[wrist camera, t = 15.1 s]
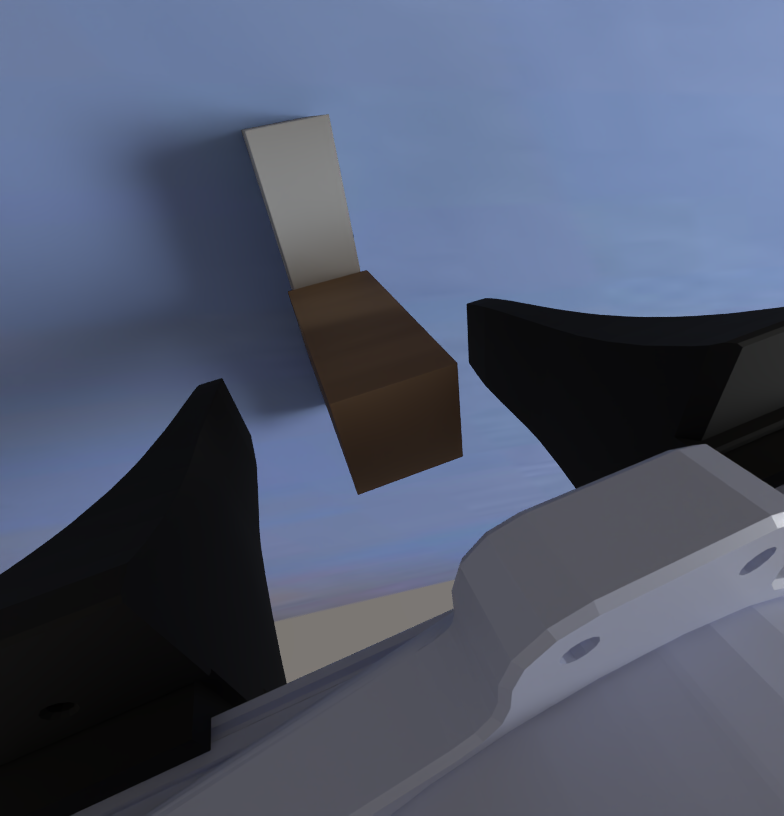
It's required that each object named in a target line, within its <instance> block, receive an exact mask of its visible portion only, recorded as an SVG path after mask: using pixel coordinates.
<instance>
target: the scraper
mask: <svg viewBox="0 0 784 816" xmlns="http://www.w3.org/2000/svg"><path fill="white" fill-rule="evenodd" d="M241 131H242V134H243V137H244V140H245V143H246V146H247V150H248V153H249V156H250V159H251V162H252V165H253V169H254V172H255V175H256V178H257V181H258V184H259V187H260V191H261V194H262V197H263V200H264V203H265V206H266V209H267V213H268V216H269V219H270V222H271V225H272V228H273V232H274V235H275V238H276V241H277V244H278V247H279V250H280V254H281V257H282V260H283V263H284V266H285V269H286V272H287V276H288V279H289V282H290V285H291V288H292V290H291V291H288V294H289V297H290V300H291V303H292V306H293V309H294V312H295V315H296V318H297V321H298V324H299V328H300V331H301V334H302V337H303V340H304V343H305V346H306V349H307V352H308V355H309V358H310V361H311V364H312V367H313V370H314V373H315V376H316V378H317V381H318V384H319V387H320V390H321V392H322V395H323V398H324V401H325V404H326V406H327V409H328V412H329V415H330V418H331V420H332V423H333V426H334V429H335V432H336V434H337V437H338V440H339V443H340V446H341V449H342V451H343V454H344V457H345V460H346V463H347V465H348V468H349V471H350V474H351V477H352V479H353V482H354V485H355V488H356V491H357V493H358V495H359V494H362V493H365V492H367V491H370V490H373V489H375V488H378V487H381V486H384V485H386V484H389V483H392V482H394V481H397V480H400V479H403V478H405V477H408V476H411V475H413V474H416V473H419V472H422V471H424V470H427V469H430V468H432V467H435V466H438V465H441V464H443V463H446V462H449V461H452V460H454V459H457V458H460V457H462V456H463V452H462V435H461V418H460V401H459V384H458V367H457V362H456V361H455V360H454V359H453V358H452V357H451V356H450V355H449V354H448V353H447V352H446V351H445V350H444V349H443V348H442V347H441V346H440V345H439V344H438V343H437V342H436V341H435V340H434V339H433V338H432V337H431V336H430V335H429V334H428V332H427V331H426V330H425V329H424V328H423V327H422V326H421V325H420V324H419V323H418V322H417V321H416V320H415V319H414V318H413V317H412V316H411V315H410V314H409V313H408V312H407V311H406V310H405V309H404V308H403V307H402V306H401V305H400V304H399V303H398V302H397V301H396V300H395V299H394V298H393V297H392V295H391V294H390V293H389V292H388V291H387V290H386V289H385V288H384V287H383V286H382V285H381V284H380V283H379V282H378V281H377V280H376V279H375V278H374V277H373V276H372V275H371V274H370V273H369V272H368V271H367V270H366V271H362V272H360V267H359V262H358V257H357V252H356V247H355V242H354V237H353V232H352V227H351V223H350V218H349V213H348V208H347V203H346V198H345V193H344V188H343V183H342V178H341V173H340V168H339V163H338V158H337V153H336V148H335V143H334V138H333V133H332V128H331V123H330V118H329V114H327V115H319V116H310V117H305V118H300V119H294V120H289V121H284V122H279V123H274V124H269V125H264V126H259V127H254V128H249V129H244V130H241Z"/></svg>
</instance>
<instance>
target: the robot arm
mask: <svg viewBox="0 0 784 816" xmlns="http://www.w3.org/2000/svg"><path fill="white" fill-rule="evenodd" d="M467 325H468V351H469V363H470V365H471V366H472V368H473V369H474V371H475V372H476V374H477V375H478V376H479V378H480V379H481V380H482V382H483V383H484V384H485V386H486V387H487V388H488V389H489V390H490V391H491V392H492V393H493V394H494V395H495V396H496V397H497V398H498V399H499V400H500V401H501V402H502V403H503V404H504V405H505V406H506V407H507V408H508V409H509V410H510V411H511V412H512V413H513V414H514V415H515V416H516V417H517V418H518V419H519V420H520V421H521V422H522V423H523V424H524V425H525V426H526V427H527V428H528V429H529V430H530V431H531V432H532V433H533V434H534V435H535V436H536V437H537V439H538V440H539V441H540V442H541V443H542V445H543V446H544V447H545V448H546V450H547V451H548V452H549V453H550V455H551V456H552V457H553V458H554V460H555V461H556V462H557V464H558V465H559V466H560V468H561V469H562V470H563V472H564V473H565V474H566V476H567V477H568V478H569V480H570V481H571V483H572V484H573V485H574V487H575V488H576V489H574V490H572V491H569V492H567V493H565V494H562V495H560V496H557V497H555V498H553V499H550V500H548V501H545V502H543V503H541V504H538V505H536V506H533V507H531V508H529V509H526V510H524V511H521V512H519V513H517V514H516V515H514V516H512V517H511V518H509V519H507V520H506V521H504V522H502V523H501V524H499V525H497V526H496V527H494V528H492V529H491V530H489V531H487V532H486V533H485V534H484V535H483V536H482V537H481V538H480V539H479V540H478V541H477V543H476V544H475V545H474V546H473V547H472V548H471V549H470V550H469V551H468V552H467V553H466V555H465V556H464V557H463V558H462V560H461V563H460V565H459V568H458V572H457V575H456V578H455V582H454V585H453V589H452V597H453V606H454V609H452V610H450V611H447V612H445V613H443V614H441V615H439V616H437V617H434V618H432V619H430V620H427V621H425V622H423V623H421V624H419V625H416V626H414V627H412V628H410V629H407V630H405V631H403V632H401V633H399V634H397V635H394V636H392V637H390V638H387V639H385V640H383V641H381V642H379V643H376V644H374V645H372V646H370V647H367V648H365V649H363V650H361V651H359V652H356V653H354V654H352V655H350V656H347V657H345V658H343V659H341V660H339V661H336V662H334V663H332V664H330V665H327V666H325V667H323V668H321V669H319V670H316V671H314V672H312V673H310V674H307V675H305V676H303V677H301V678H299V679H296V680H294V681H292V682H290V683H286V678H285V674H284V669H283V665H282V660H281V656H280V650H279V645H278V640H277V635H276V630H275V626H274V620H273V615H272V609H271V604H270V598H269V593H268V587H267V582H266V576H265V569H264V563H263V557H262V551H261V543H260V532H259V507H258V483H257V464H256V459H255V453H254V448H253V444H252V439H251V435H250V433H249V431H248V429H247V427H246V425H245V423H244V421H243V419H242V417H241V415H240V413H239V411H238V409H237V407H236V405H235V403H234V401H233V399H232V397H231V395H230V393H229V391H228V389H227V387H226V385H225V383H224V381H223V379H222V378H221V379H218V380H214V381H211V382H208V383H204V384H201V385H199V386H198V387H197V388H196V389H195V390H194V391H193V393H192V394H191V395H190V397H189V398H188V400H187V401H186V402H185V404H184V405H183V406H182V408H181V409H180V411H179V412H178V413H177V415H176V416H175V417H174V419H173V420H172V421H171V423H170V424H169V425H168V427H167V428H166V429H165V431H164V432H163V433H162V434H161V435H160V437H159V438H158V439H157V440H156V442H155V443H154V444H153V445H152V446H151V448H150V449H149V450H148V451H147V452H146V454H145V455H144V456H143V457H142V458H141V459H140V460H139V461H138V463H137V464H136V465H135V466H134V467H133V468H132V469H131V470H130V471H129V472H128V473H127V474H126V475H125V476H124V477H123V478H122V479H121V480H120V481H119V482H118V483H117V484H116V485H115V486H114V487H113V488H112V489H111V490H109V491H108V492H107V493H106V494H105V495H104V496H103V497H101V498H100V499H99V500H98V501H97V502H96V503H94V504H93V505H92V506H91V507H90V508H89V509H87V510H86V511H85V512H84V513H83V514H81V515H80V516H79V517H78V518H77V519H76V520H74V521H73V522H72V523H71V524H69V525H68V526H67V527H66V528H64V529H63V530H62V531H60V532H59V533H58V534H56V535H55V536H54V537H53V538H51V539H50V540H49V541H47V542H46V543H45V544H43V545H42V546H40V547H39V548H38V549H36V550H35V551H33V552H32V553H31V554H29V555H28V556H26V557H25V558H24V559H22V560H21V561H19V562H18V563H16V564H15V565H14V566H12V567H11V568H9V569H8V570H6V571H5V572H3V573H2V574H0V816H784V307H780V308H771V309H763V310H755V311H747V312H739V313H729V314H716V315H702V316H683V317H626V316H611V315H597V314H588V313H580V312H573V311H565V310H559V309H553V308H547V307H542V306H536V305H531V304H525V303H520V302H514V301H508V300H501V299H492V298H484V299H481V300H478V301H474V302H471V303H468V304H467Z"/></svg>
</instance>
